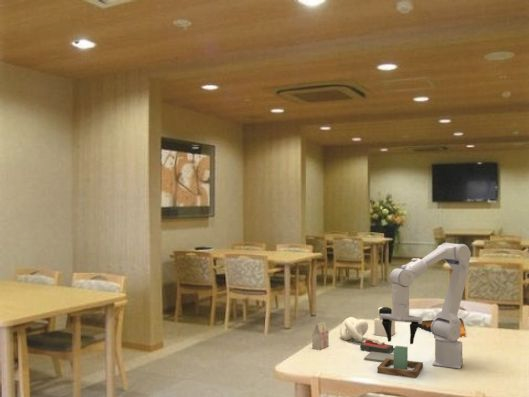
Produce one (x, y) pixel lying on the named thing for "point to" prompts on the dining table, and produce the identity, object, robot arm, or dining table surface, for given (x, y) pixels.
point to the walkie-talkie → (375, 346)
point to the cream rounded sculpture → (353, 329)
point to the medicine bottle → (378, 325)
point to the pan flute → (427, 324)
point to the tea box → (320, 337)
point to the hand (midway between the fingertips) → (400, 342)
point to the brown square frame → (413, 373)
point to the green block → (401, 357)
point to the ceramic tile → (378, 356)
